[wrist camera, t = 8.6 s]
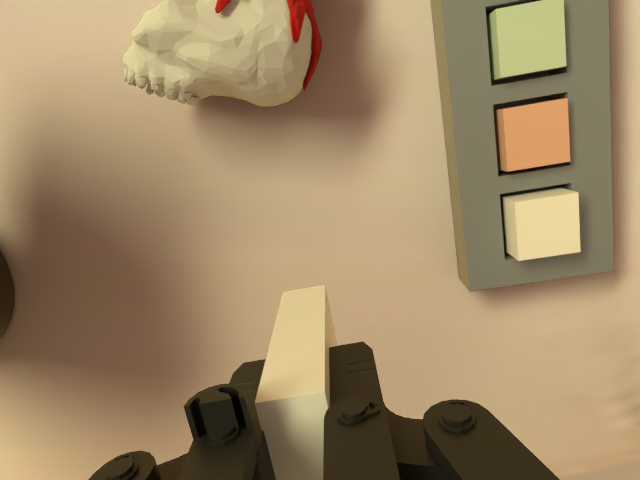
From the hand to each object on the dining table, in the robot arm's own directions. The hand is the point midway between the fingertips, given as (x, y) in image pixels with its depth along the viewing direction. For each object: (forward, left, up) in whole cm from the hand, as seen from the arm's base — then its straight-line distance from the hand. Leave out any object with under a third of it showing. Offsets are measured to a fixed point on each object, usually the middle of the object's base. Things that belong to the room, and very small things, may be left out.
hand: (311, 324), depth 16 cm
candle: (-3, +14, -23) cm, 27 cm away
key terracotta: (+16, +4, -21) cm, 27 cm away
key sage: (+16, +10, -21) cm, 28 cm away
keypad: (+16, +7, -23) cm, 28 cm away
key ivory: (+16, -3, -20) cm, 26 cm away
